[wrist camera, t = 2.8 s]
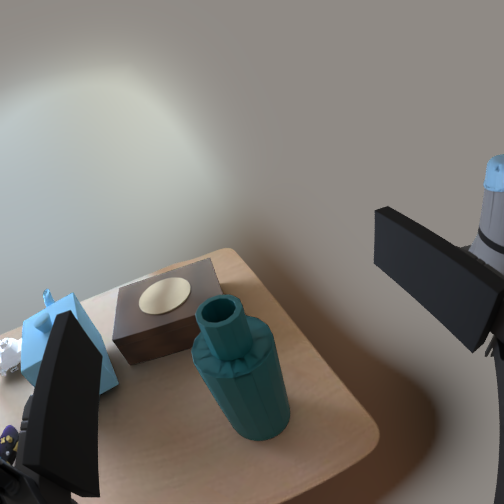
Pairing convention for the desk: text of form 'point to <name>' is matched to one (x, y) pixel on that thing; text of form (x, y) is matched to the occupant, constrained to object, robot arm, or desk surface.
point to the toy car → (9, 354)
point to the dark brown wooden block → (163, 311)
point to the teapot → (39, 331)
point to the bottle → (241, 368)
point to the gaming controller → (9, 444)
